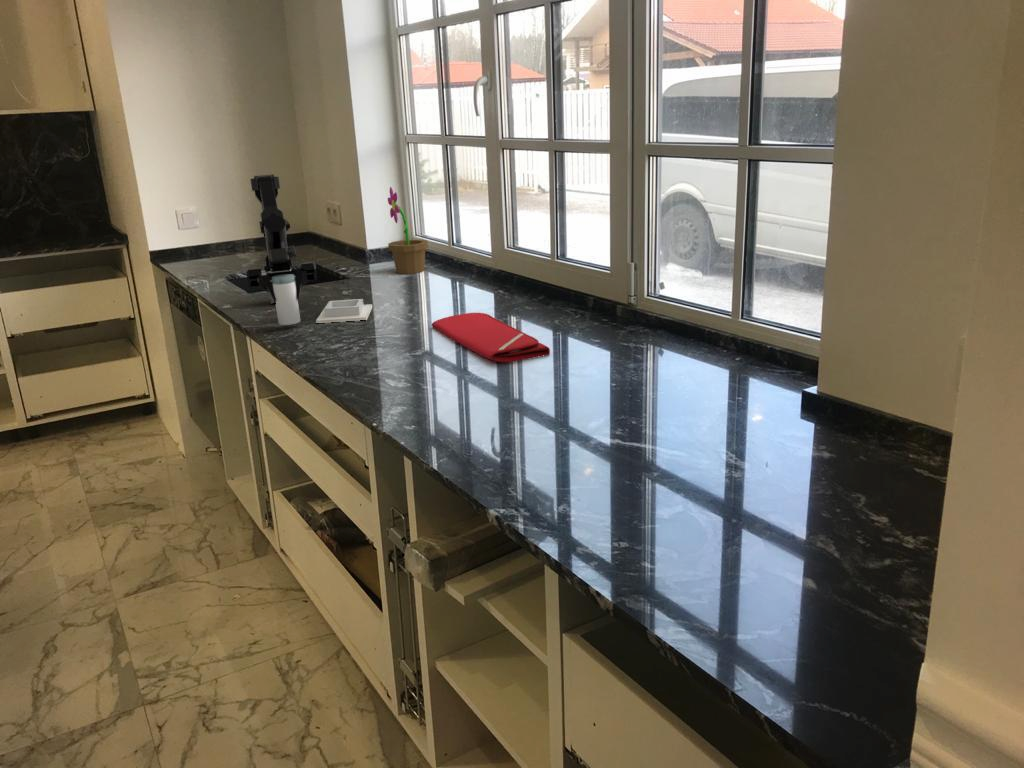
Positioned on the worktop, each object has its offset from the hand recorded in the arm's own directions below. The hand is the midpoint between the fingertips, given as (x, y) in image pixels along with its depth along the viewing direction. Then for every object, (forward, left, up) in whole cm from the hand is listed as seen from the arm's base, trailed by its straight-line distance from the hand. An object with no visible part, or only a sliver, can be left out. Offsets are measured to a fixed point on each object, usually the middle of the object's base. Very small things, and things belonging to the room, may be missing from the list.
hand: (286, 300), depth 233 cm
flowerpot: (-72, +29, -8) cm, 78 cm away
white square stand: (-10, +14, -8) cm, 19 cm away
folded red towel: (+26, +54, -9) cm, 61 cm away
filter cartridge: (-1, 0, -7) cm, 7 cm away
